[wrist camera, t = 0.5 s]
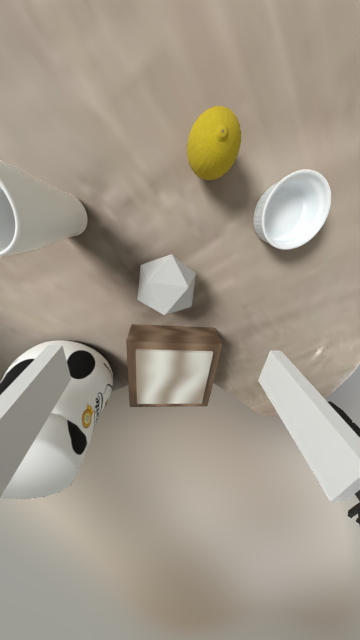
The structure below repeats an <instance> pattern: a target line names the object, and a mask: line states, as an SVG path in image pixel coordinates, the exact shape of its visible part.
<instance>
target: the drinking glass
mask: <svg viewBox="0 0 360 640" xmlns="http://www.w3.org/2000/svg"><path fill="white" fill-rule="evenodd" d="M87 222H88V218H87V213H86V210H85V208H84V206H83V204H82V203H81V202H80V201H79V200H78V199H77V198H76V197H75V196H74V195H72V194H70V193H68V192H66V191H63V190H60V189H58V188H56V187H54V186H52V185H50V184H48V183H46V182H45V181H43V180H41V179H39V178H37V177H35V176H33V175H31V174H29V173H27V172H25V171H23V170H21V169H19V168H17V167H15V166H13V165H11V164H9V163H7V162H4V161H2V160H0V257H6V256H13V255H19V254H24V253H28V252H31V251H35V250H38V249H41V248H44V247H46V246H49V245H51V244H54V243H56V242H59V241H62V240H64V239H67V238H70V237H74V236H78V235H80V234H81V233H83V232H84V230H85V229H86V226H87Z"/></svg>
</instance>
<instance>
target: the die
mask: <svg viewBox="0 0 360 640" xmlns="http://www.w3.org/2000/svg"><path fill="white" fill-rule="evenodd" d="M195 277H196V273H195V272H194V271H193V270H191V269H190V268H189V267H187V266H186V265H185V264H184V263H182V262H181V261H180V260H178V259H177V258H176V257H175V256H173V255H172V254H171V255H168V256H165V257H162V258H159V259H157V260H154V261H151V262H148V263H145V264H142V265H141V269H140V279H139V289H138V299H137V300H138V301H140V302H142V303H144V304H146V305H147V306H149V307H151V308H153V309H154V310H156V311H158V312H160V313H162V314H163V315H167V314H170V313H173V312H176V311H179V310H182V309H185V308H189V307H192V299H193V292H194V284H195Z"/></svg>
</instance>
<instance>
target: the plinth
mask: <svg viewBox="0 0 360 640" xmlns="http://www.w3.org/2000/svg"><path fill="white" fill-rule="evenodd" d="M126 344H127V362H128V381H129V397H130V398H129V399H130V407H144V406H145V407H146V406H147V407H148V406H150V407H151V406H152V407H153V406H154V407H157V406H158V407H159V406H160V407H161V406H207V405H208V401H209V397H210V393H211V389H212V385H213V381H214V377H215V373H216V369H217V365H218V361H219V357H220V353H221V349H222V345H223V344H222V342H221V340H220V338H219V336H218V334H217V332H216V330H215V328H204V327H180V326H157V325H134V324H132V325H131V328H130V332H129V335H128V338H127V341H126Z"/></svg>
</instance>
